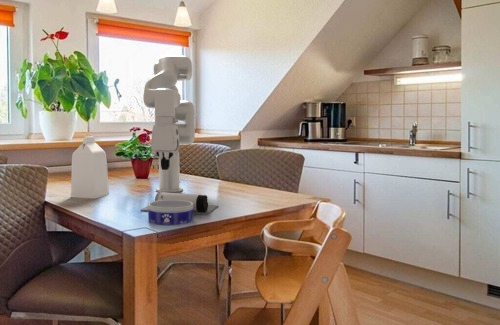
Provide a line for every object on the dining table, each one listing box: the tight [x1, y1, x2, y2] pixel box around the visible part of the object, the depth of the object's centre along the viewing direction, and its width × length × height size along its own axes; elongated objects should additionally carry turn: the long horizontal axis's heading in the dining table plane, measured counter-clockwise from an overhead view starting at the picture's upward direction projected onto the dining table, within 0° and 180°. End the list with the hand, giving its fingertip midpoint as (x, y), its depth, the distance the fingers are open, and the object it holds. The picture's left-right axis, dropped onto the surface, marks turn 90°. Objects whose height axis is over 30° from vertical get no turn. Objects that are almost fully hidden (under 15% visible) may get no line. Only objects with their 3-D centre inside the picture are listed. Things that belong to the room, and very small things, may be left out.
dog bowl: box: [147, 200, 194, 226], centre depth 163 cm, size 15×15×6 cm
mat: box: [140, 204, 219, 215], centre depth 182 cm, size 15×26×1 cm, turn 80°
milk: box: [70, 135, 110, 199], centre depth 208 cm, size 12×12×26 cm
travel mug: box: [154, 191, 209, 212], centre depth 176 cm, size 6×7×20 cm
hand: (165, 169), depth 182 cm, fingers closed
